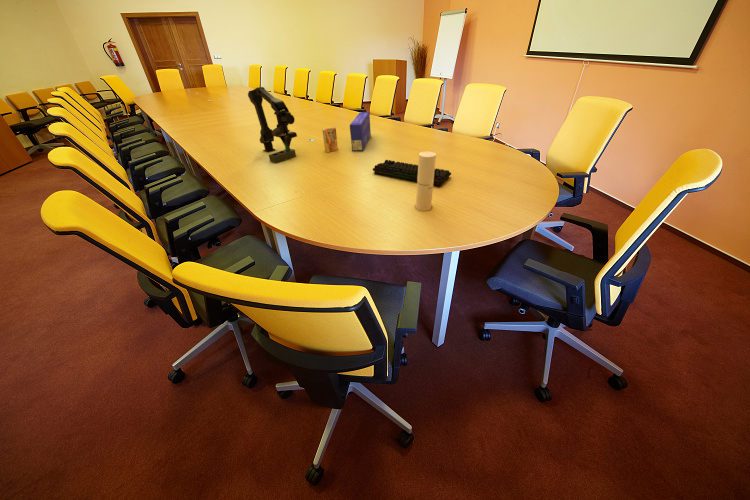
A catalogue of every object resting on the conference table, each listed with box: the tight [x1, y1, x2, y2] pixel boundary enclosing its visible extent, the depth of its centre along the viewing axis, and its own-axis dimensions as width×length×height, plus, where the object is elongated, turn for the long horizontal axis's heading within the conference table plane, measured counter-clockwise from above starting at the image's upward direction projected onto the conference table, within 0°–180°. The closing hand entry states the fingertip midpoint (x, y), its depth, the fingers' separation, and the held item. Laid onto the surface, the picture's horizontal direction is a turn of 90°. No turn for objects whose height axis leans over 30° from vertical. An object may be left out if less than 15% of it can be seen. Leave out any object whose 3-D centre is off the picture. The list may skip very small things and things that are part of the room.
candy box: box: [322, 126, 339, 153], centre depth 205 cm, size 9×4×15 cm, turn 129°
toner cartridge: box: [349, 111, 372, 152], centre depth 215 cm, size 39×8×18 cm, turn 172°
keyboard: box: [372, 159, 452, 188], centre depth 165 cm, size 42×16×5 cm, turn 58°
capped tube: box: [283, 140, 291, 152], centre depth 198 cm, size 3×3×10 cm
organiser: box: [268, 148, 297, 164], centre depth 197 cm, size 7×17×4 cm, turn 142°
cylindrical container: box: [415, 151, 437, 212], centre depth 129 cm, size 7×7×25 cm
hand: (287, 146), depth 197 cm, fingers closed on capped tube, 3 cm apart
